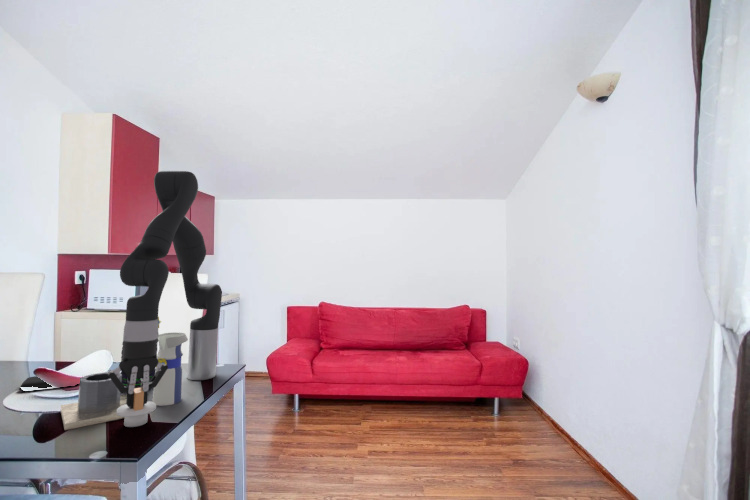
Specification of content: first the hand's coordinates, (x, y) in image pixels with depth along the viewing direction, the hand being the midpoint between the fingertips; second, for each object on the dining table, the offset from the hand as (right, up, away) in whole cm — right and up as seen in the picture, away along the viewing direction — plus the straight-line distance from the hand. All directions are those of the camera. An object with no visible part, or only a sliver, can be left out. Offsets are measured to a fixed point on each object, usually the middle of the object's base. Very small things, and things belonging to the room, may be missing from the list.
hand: (136, 406), depth 96 cm
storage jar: (-16, -5, +26) cm, 31 cm away
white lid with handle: (0, -4, 0) cm, 4 cm away
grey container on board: (-13, -4, +5) cm, 15 cm away
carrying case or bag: (-43, -4, +26) cm, 51 cm away
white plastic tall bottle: (-1, -5, +16) cm, 17 cm away
